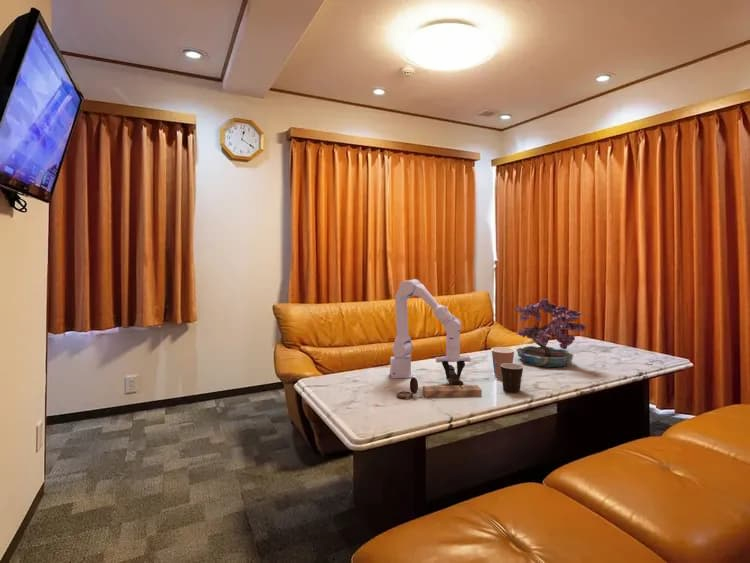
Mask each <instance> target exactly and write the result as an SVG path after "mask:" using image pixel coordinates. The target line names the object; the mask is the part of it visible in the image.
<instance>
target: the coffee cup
mask: <svg viewBox="0 0 750 563" xmlns="http://www.w3.org/2000/svg"><path fill="white" fill-rule="evenodd" d="M490 351H491V357H492V364H493V374H494V376H495V377H497V378H501V379H502V374H501V364H504V363H514V362H513V361H514V356H515V352H516V349H514V348H512V347H506V346H495V347H491V349H490Z"/></svg>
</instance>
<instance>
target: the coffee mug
mask: <svg viewBox="0 0 750 563" xmlns="http://www.w3.org/2000/svg"><path fill="white" fill-rule="evenodd" d="M523 370H524V366H523V365H521V364H518V363H514V362H513V363H504V364H501V374H502V378H501V380H502V381H501V382H502V390H503V391H504V392H506V393H510V394H517V393H520V392H521V385H522V378H523V373H524V372H523Z"/></svg>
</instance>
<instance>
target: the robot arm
mask: <svg viewBox="0 0 750 563" xmlns="http://www.w3.org/2000/svg"><path fill="white" fill-rule="evenodd" d="M412 296H415V297H419V298H421V299H422V300H423V301H424V302H425V303H426V304H427V306H429V307H430V308H431V309H432V310H433V311H432V312H433V315H434V317H436V318H437V320H438V321H439V322H440V323H441V324H442V325H443V326H444V330H445V332H446V337H445V338H446V346H445V348H446V350H445V351H446V352H445V354H446V355H445V356H436V357H435V362H436V363H438V364H439V363H441V365H442V367H443V370H444V373H445V378H446V380H449V366H450V365H451V364H449V363H456V368H457V369H456V374H457V376H458V377H459V378H460V379H461V375H462V372H463V369H464V368H465V366H466V363H467V362H468V363H471V357H470V356H467V355H466V356H464V355H463V356H462V355H461V329H462V326H463V324H462V321H461V320H460V319H459V318H458V317H456V316H455V315H453V314H452V313H451V312H450V311H449V308H448V306H445V305H443V304H440V303H439V302H437V300H436V299H435V298H434V296H433V295H432V294H431V293H430V291H428V289H427V288H426V286H425V285H424V284H423V283H421V281H420V280H419V279H418V278H413V279H405V280H403V281H402V282H401V283H400V284H398V289H397V292H396V294H395V296H394V302H395V303H394V305H395V306H394V308H395V324H396V326H395V330H396V336H395V339H394V341H393V346H392V353H393V355H394V356H390V363H389V364H390V365H389V367H390V368H389V374H390V376H391V379H407V378H410V379H411V378H412V377H413V374H412V354H411V353H412V351H413V350H414V345H413V342H412V339H411V338H412V337H411V336H410V335H409V316H408V300H409V299H410V298H411V297H412Z"/></svg>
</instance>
